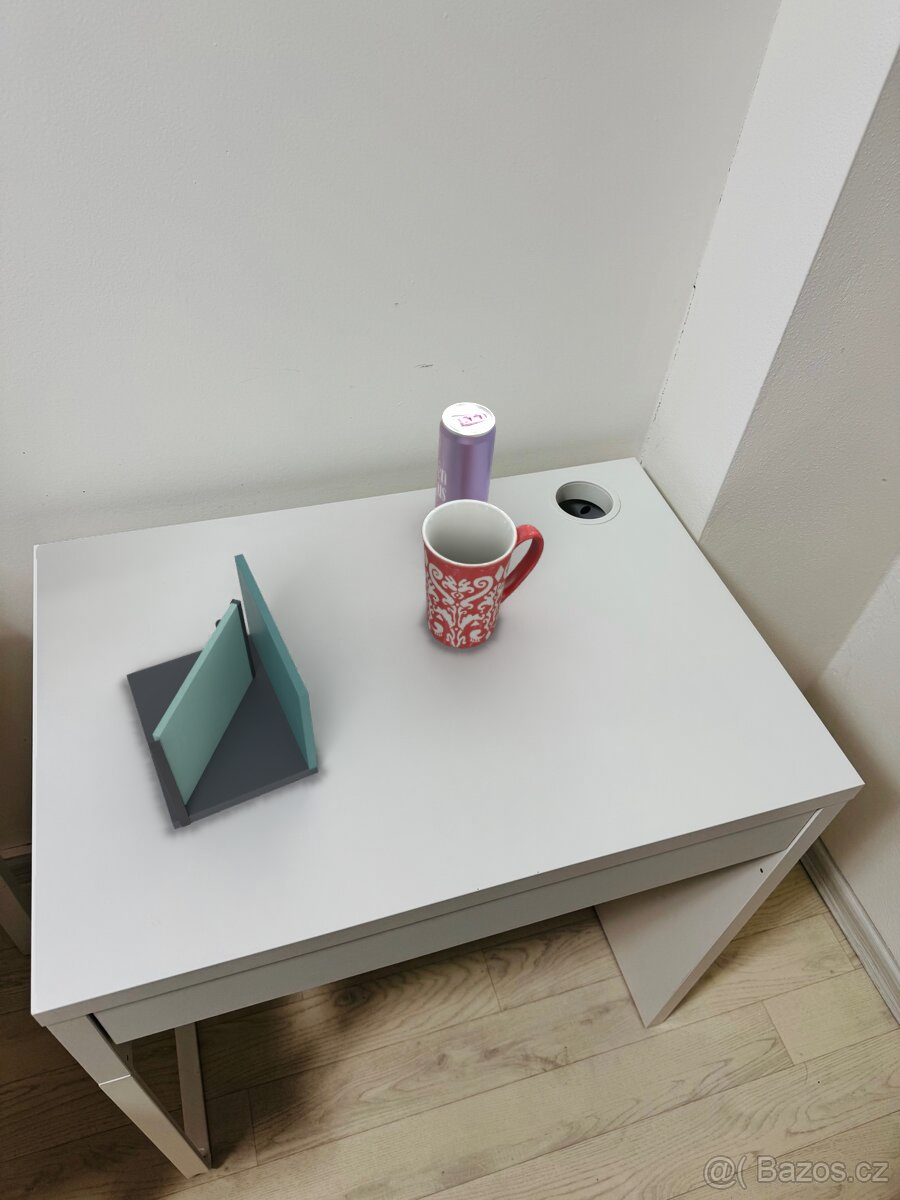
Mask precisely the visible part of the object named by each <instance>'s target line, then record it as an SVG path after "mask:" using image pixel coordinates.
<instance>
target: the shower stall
mask: <svg viewBox="0 0 900 1200" xmlns="http://www.w3.org/2000/svg"><path fill="white" fill-rule="evenodd" d="M234 562H235V568H236V571H237V578H238V583H239V587H240V592H241V597H242V602H243V607H244V612H245V618H246V623H247V626H248V627H247V628H248V632H249V634H248V639H249V644H250V649H251V654H252V659H253V664H254V669H255V674H256V676H255V678H254V679H253V680H252V681H251V683H250V685H249V687H248V689H247V691H246V693H245V695H244V696H243V698H242V700H241V702H240V704H239V706H238V708H237V710H236V711H235V713H234V715H233V717H232V719H231V721H230V723H229V725H228V727H227V728H226V730H225V732H224V734H223V736H222V738H221V740H220V742H219V743H218V745H217V747H216V749H215V751H214V753H213V755H212V757H211V759H210V760H209V762H208V764H207V766H206V768H205V770H204V772H203V774H202V775H201V777H200V779H199V781H198V783H197V785H196V787H195V789H194V790H193V792H192V794H191V796H190V798H189V800H188V802H187V804H186V805H184V802H183V800H182V797H181V794H180V792H179V789H178V787H177V784H176V781H175V779H174V776H173V774H172V771H171V768H170V766H169V763H168V761H167V758H166V755H165V753H164V750H163V748H162V745H161V742H160V740H157V741H155V740H154V737H153V733H154V731H155V729H156V728H157V726H158V724H159V723H160V721H161V719H162V718H163V716H164V714H165V713H166V711H167V709H168V708H169V706H170V704H171V703H172V701H173V699H174V698H175V696H176V694H177V693H178V691H179V689H180V688H181V686H182V684H183V683H184V681H185V679H186V678H187V676H188V674H189V673H190V671H191V669H192V668H193V666H194V664H195V663H196V661H197V659H198V658H199V656H200V654H201V653H202V651H203V649H201V650H198V651H195V652H192V653H189V654H185V655H182V656H180V657H176V658H174V659H171V660H168V661H165V662H162V663H159V664H156V665H152V666H149V667H145V668H143V669H141V670H137V671H134V672H131V673H128V674H126V677H127V678H126V679H127V682H128V685H129V689H130V692H131V694H132V698H133V701H134V704H135V708H136V711H137V715H138V717H139V720H140V724H141V728H142V730H143V733H144V737H145V740H146V743H147V747H148V750H149V753H150V756H151V759H152V763H153V766H154V770H155V772H156V775H157V778H158V782H159V785H160V788H161V791H162V795H163V799H164V801H165V805H166V808H167V811H168V815H169V816H170V817H169V818H170V820H171V824H172V825H173V826H172V827H173V828H174V830H177V829H179V828H185V827H187V826H189V825H191V824H192V823H194V822H197V821H199V820H202V819H205V818H207V817H209V816H212V815H214V814H217V813H219V812H222V811H225V810H227V809H229V808H232V807H235V806H237V805H240V804H243V803H244V802H247V801H250V800H253V799H255V798H256V797H260V796H262V795H265V794H268V793H270V792H272V791H275V790H278V789H280V788H283V787H286V786H288V785H289V784H293V783H295V782H298V781H300V780H302V779H305V778H307V777H310V776H313V775H315V774H318V773H319V769H318V768H319V767H318V762H317V759H318V758H317V753H316V744H315V735H314V728H313V721H312V713H311V712H312V711H311V704H310V697H309V692H308V690H307V687H306V685H305V683H304V681H303V679H302V676H301V674H300V673H299V670H298V669H297V666H296V664H295V662H294V660H293V658H292V655H291V654H290V651H289V650H288V647H287V645H286V643H285V641H284V639H283V636H282V634H281V631H280V630H279V628H278V625H277V623H276V621H275V620H274V617H273V615H272V613H271V611H270V609H269V607H268V604H267V603H266V600H265V598H264V596H263V594H262V592H261V590H260V588H259V585H258V583H257V581H256V579H255V577H254V575H253V572H252V571H251V568H250V566H249V564H248V562H247V560H246V557H245V556H244V554H243V553H240V554H237V555H234Z"/></svg>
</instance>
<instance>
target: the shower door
mask: <svg viewBox="0 0 900 1200" xmlns="http://www.w3.org/2000/svg"><path fill="white" fill-rule="evenodd" d="M245 620H246V619H245V615H244V610H243V605H242V601H241V600H239V599H235V598H232V599H231V601H230V603H229V606H228V607H227V609H226V611H225V612H224V614H223V616H222V618H219V619H217V620H216V621H215V629H214V631H213V633H212V634H211V636H210V638H209V639H208V641H207V642H206V644H205V645H204V648H203V649H202V650H203V651H202V653H201V654H200V656H199V658H198V659H197V661H196V663H195V664H194V666H193V668H192V669H191V671H190V673H189V674H188V676H187V678H186V679H185V681H184V683H183V684H182V686H181V688H180V689H179V691H178V693H177V694H176V696H175V698H174V699H173V701H172V703H171V704H170V706H169V708H168V709H167V711H166V713H165V714H164V716H163V718H162V719H161V721H160V723H159V724H158V726H157V728H156V729H155V731H154V733H153V737H154V740H155V741H157V740H160V742H161V745H162V748H163V750H164V753H165V755H166V758H167V761H168V763H169V766H170V768H171V771H172V774H173V776H174V779H175V781H176V784H177V787H178V789H179V792H180V794H181V797H182V800H183V802H184V805H186V804H187V802H188V800H189V798H190V796H191V794H192V792H193V790H194V789H195V787H196V785H197V783H198V781H199V779H200V777H201V775H202V774H203V772H204V770H205V768H206V766H207V764H208V762H209V760H210V759H211V757H212V755H213V753H214V751H215V749H216V747H217V745H218V743H219V742H220V740H221V738H222V736H223V734H224V732H225V730H226V728H227V727H228V725H229V723H230V721H231V719H232V717H233V715H234V713H235V711H236V710H237V708H238V706H239V704H240V702H241V700H242V698H243V696H244V695H245V693H246V691H247V689H248V687H249V685H250V683H251V681H252V680H253V679H254V678H255V676H256V674H255V669H254V664H253V659H252V654H251V649H250V644H249V639H248V635H249V634H248V629H247V625H246V621H245Z"/></svg>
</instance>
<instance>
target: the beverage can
mask: <svg viewBox="0 0 900 1200" xmlns="http://www.w3.org/2000/svg"><path fill="white" fill-rule="evenodd" d="M496 433H497V426H496V418H495V415H494V413H493V412H492V411H491V410H490V409H489V408H487V407H486V406H484V405H482V404H478V403H475V402H458V403H455V404H452V405H450V406H448V407H446V408H445V409H444V411H443V412H442V415H441V420H440V421H439V429H438V448H437V464H436V465H437V468H436V482H435V483H436V484H435V485H436V486H435V503H434V509H435V508H436V507H438V506H440V505H442V504H444V503H447V502H451V501H455V500H478V501H482V502H486V503H489V493H490V485H491V476H492V467H493V460H494V452H495V451H494V450H495V443H496V442H495V441H496Z"/></svg>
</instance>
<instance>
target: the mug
mask: <svg viewBox="0 0 900 1200" xmlns="http://www.w3.org/2000/svg"><path fill="white" fill-rule="evenodd" d="M421 538H422V542H423V552H424V553H423V555H424V576H425V601H426V622H427V626H428V630H429V632H430V633H431V635H432V636H433V637H434V638H435V639H436V640H437V641H438V642H440V643H441V644H443V645H445V646H448V647H452V648H457V649H467V648H468V649H469V648H474V647H477V646H480V645H482V644H483V643H484V642H486V641H487V640H488V639H489V638H490V637H491V636H492V635H493V633H494V632H495V628H496V625H497V622H498V615H499V611H500V607H501V604H503V602H505V600H507V599H508V598H509V597H510V596H511V595H512V594H513V593H514V592H515V591H516V590H517V589H518V588H519V587H520V586H521V584H522V583H523V582H524V581H525V580H526V579H527V578H528V576H529V575H530V574H531V572H533V570H534V569H535V568H536V566H537V564H538V563H539V561H540V559H541V557H542V554H543V553H544V548H545V540H544V537H543V534H542V533H541V532H540V531H539V529H537V528H536V526H534V525H532V524H521V525H518V526H516V525H515V522H514V521H513V520H512V518H511V517H510V516H509V515H508V514H507V513H506V512H505V511H503V510H502V509H501V508H499V507H498V506H496V505H494V504H492V503H489V502H488V503H486V502H482V501H478V500H455V501H451V502H447V503H444V504H442V505H440V506H438V507H436V508H435V507H434V508H433V509H432V510H431V511H429V513H428V514H426V516H425V518H424V520H423V522H422V524H421ZM529 540H531V543H530V545H529V547H528V549H527V551H526V552H525V554H524V556H523V557H522V558H521V560H520V561H519V562H518V563H517V564H516V566H515V567H514V568H513V569H512V570H511V571H510V572H509V568H510V564H511V560H512V556H513V555H512V554H513V553H514V551H515V550H516V548H518V547H519V546H520V545H522V544H523V543H525V542H526V541H529ZM508 572H509V573H508Z"/></svg>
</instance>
